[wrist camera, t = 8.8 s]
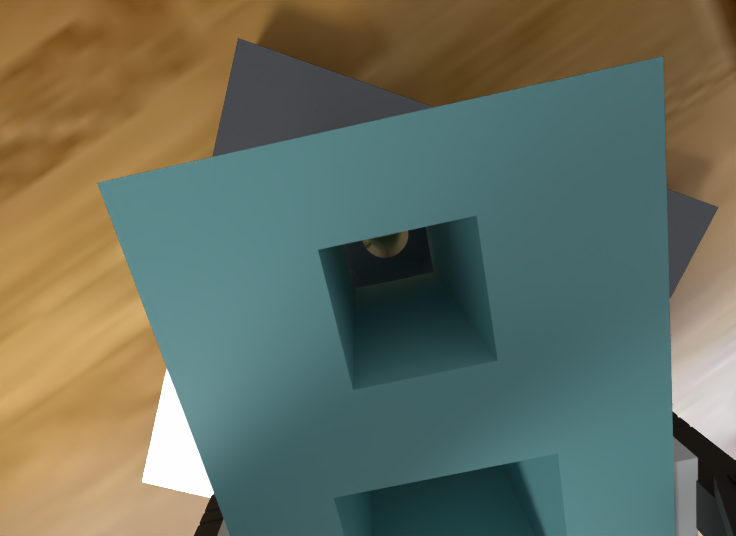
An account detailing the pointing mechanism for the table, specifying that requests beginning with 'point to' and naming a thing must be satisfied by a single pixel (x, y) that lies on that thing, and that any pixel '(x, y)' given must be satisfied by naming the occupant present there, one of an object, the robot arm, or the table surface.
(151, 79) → the table surface
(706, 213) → the base
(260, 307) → the teal block with holes
